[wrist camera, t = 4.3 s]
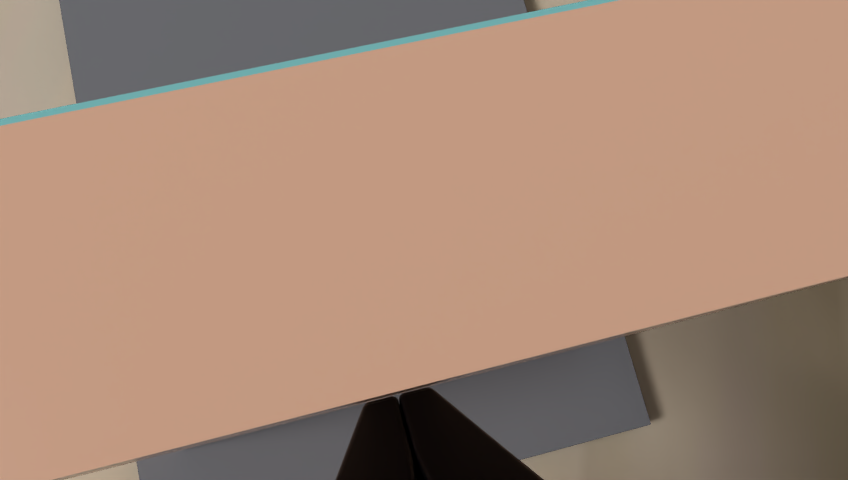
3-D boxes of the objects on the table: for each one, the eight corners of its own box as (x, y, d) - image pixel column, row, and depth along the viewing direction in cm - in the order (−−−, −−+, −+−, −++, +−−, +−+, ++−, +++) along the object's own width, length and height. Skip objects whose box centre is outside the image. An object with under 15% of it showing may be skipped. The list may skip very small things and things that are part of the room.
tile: (583, 347, 16) (1117, 207, 4) (183, 449, 15) (-511, 623, 3) (554, 252, 16) (971, -107, 5) (164, 345, 16) (-503, 184, 4)
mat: (644, 423, 16) (650, 424, 16) (158, 555, 15) (153, 559, 15) (439, -264, 20) (440, -277, 19) (30, -200, 18) (23, -212, 18)
